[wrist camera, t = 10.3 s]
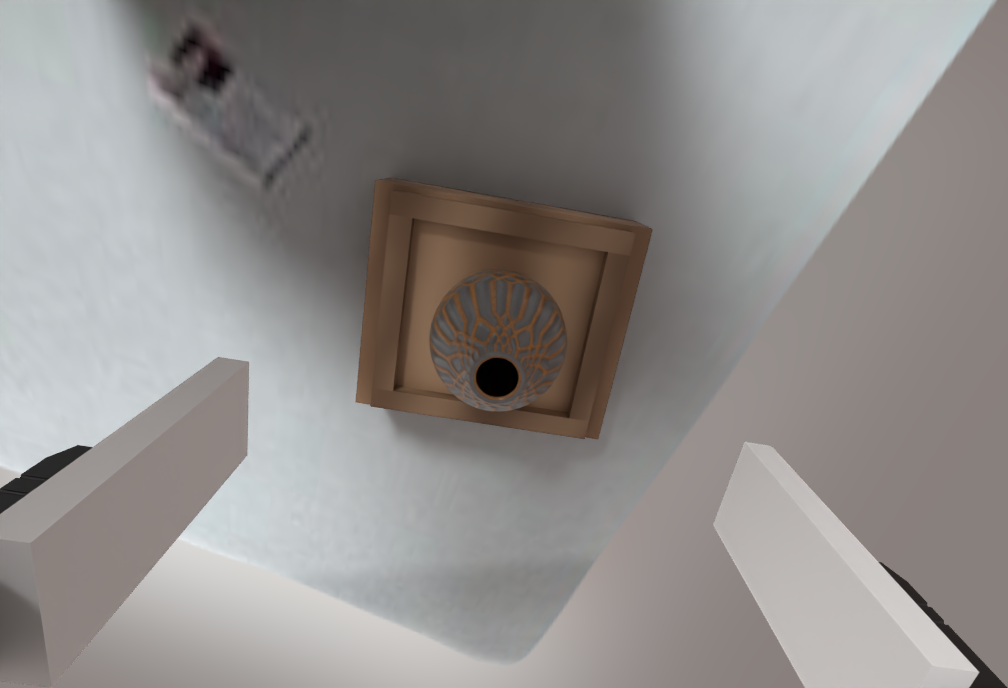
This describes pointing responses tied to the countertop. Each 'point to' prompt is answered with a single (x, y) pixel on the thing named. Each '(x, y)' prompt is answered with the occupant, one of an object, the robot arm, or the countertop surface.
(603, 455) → the countertop surface
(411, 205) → the brown wooden flat box
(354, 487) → the countertop surface
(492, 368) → the vase
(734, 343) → the countertop surface
